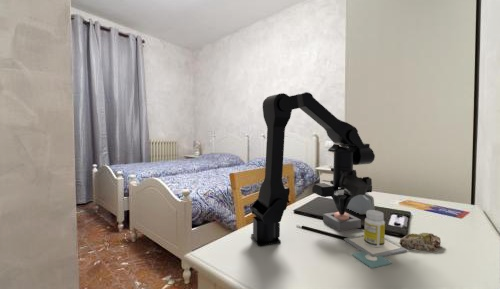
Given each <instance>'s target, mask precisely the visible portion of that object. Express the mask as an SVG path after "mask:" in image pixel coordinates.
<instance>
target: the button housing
mask: <svg viewBox="0 0 500 289" xmlns="http://www.w3.org/2000/svg"><path fill="white" fill-rule="evenodd" d="M334 213H335V212H328V213H323V218H322V219H323V220H322V221H323V222H324V223H325V224H327V225H328V226H330V227H332V228H333V229H335V230H337V231H338V232H342V231H343V232H344V231H348V230H356V229H362V219H360V218H358V217H356V216H354V215H352V214H350V213H349V212H346V211H345V213H347V214H349V219H348V220H341V221H340V220H338V219H337V218H335V217H334Z"/></svg>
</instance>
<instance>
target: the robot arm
mask: <svg viewBox="0 0 500 289" xmlns="http://www.w3.org/2000/svg"><path fill="white" fill-rule="evenodd" d="M297 109H300V110H301V111H302V112H304V113H305V114H306V115H308V117H310V119H312V120H313V121H314V122H315V123H317V124H318V125H319V126H320V127H322V128H323V129H324V130H325V131H326V135H327V137H328V138H329V139H330V141H331V142H332V143H333V145H331V147H329V148H328V149H327V151H328V152H332V153H333V167H330V172H333V173H332V180H330V184H328V183H324V182H322V183H321V182H320V183H314V184H313V186H312V191H311V192H312V193H313V194H314V195H317V196H320V197H322V198H329V197H331V198H332V199H333V202H334V204H335V207H336V209H337V212H339V214H341V215H344V213H345V212H346V211H347V206H348V204H349V202H350V200H351V199H352V198H353V197H355V196H357V195H365V194H366V193H372V192H373V182H372V178H371V177H370V176H363V177H358V175H357V171H356V169H354V166H358V165H359V166H360V165H370V164H372V163H374V160H375V158H376V156H375V155H376V154H375V151H374V150H373V149H372V148H371V147H370V146H371V145H370V143H365V142H363V140H362V139H361V136H360V134H359V131H358V130H359V129H357V127H356V126H354V125H353V124H350V123H349V122H346V121H343V120H341V119H339V118H338V117H336V116H335V115H334V114H333V113H331V112H330V111H329V110H328V109H327V108H326V107H325V106H324V105H323V104H322V103H320V102H319V101H318V100H317V99H316V98H314V96H313V94H312V93H310V92H300V93H298V94H293V95H288V94H287V93H284V92H283V93H282V92H281V93H277V94H273V95H269V96H267V97H266V98H265V99H264V100H263V102H262V116H263V120H264V122H265V125H266V128H267V129H266V130H267V131H266V146H265V147H266V148H265V150H266V151H265V152H266V153H265V170H264V179H263V182H262V184H261V185H260V187H259V191H258V195H257V196H258V197H257V199H256V200H255V201H254V202H253V203H252V204H251V205H250V206H249V209H250V212H251V214H252V215H253V216H252V233H251V234H250V237H251V238H252V240H253V241H254V242H255V243H256V245H257V246H258V247H264V246H270V245H274V244H280V243H282V242H281V239H280V236H281V235H280V234H281V233H280V231H281V230H280V229H281V228H280V227H281V223H280V222H281V221H282V218H283V216H284V212H285V211H286V209H287V208H288V204H289V203H290V199H289V195H290V192H291V191H290V187H288V186H286V185H284V183H283V174H284V173H283V168H284V151H285V150H284V149H285V136H286V135H285V133H286V128H287V125H288V123H289V121H290V120H291V117H292V112H293V110H297Z"/></svg>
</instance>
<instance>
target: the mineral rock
mask: <svg viewBox="0 0 500 289" xmlns="http://www.w3.org/2000/svg"><path fill="white" fill-rule="evenodd" d="M441 243H442V242H441V237H440V236H438V235H434V233H428V232H422V233H409V234H406V235H405V236H403V237H401V238H400V239H399V245H400V246H401V247H403V248H405V249H408V250H413V251H414V250H415V251H427V252H432V253H433V252H437V251H439V250H440V249H441Z"/></svg>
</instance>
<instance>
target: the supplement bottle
mask: <svg viewBox="0 0 500 289" xmlns="http://www.w3.org/2000/svg"><path fill="white" fill-rule="evenodd" d="M365 215H366V217H365V218H364V228H363V229H364V234H363V235H364V242H365V243H366V244H367V245H369V246H372V247H383V246H384V239H385V238H386V237H385V235H386V234H385V233H386V231H385V230H386V221H385V220H384V218H385V215H384V212H382V211H380V210H368V211H367V212H366V214H365Z"/></svg>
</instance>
